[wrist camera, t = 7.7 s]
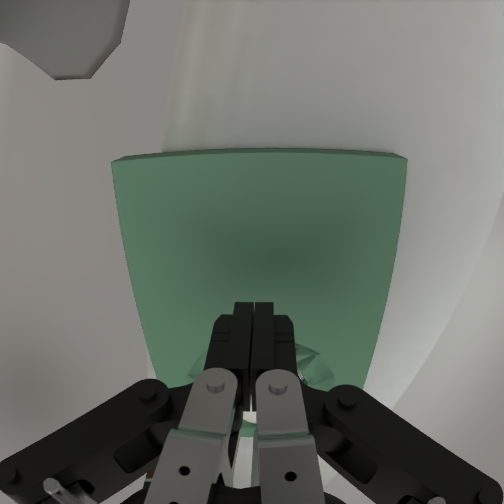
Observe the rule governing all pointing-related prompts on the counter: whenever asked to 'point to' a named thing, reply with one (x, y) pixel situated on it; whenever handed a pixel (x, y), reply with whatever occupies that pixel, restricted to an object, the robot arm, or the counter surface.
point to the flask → (63, 33)
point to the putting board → (262, 252)
